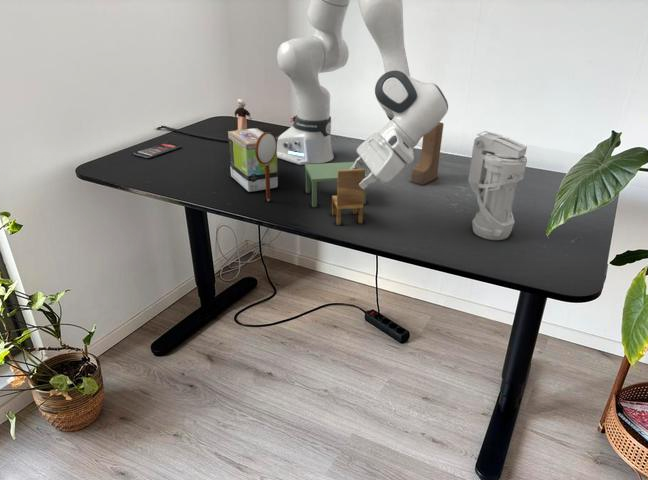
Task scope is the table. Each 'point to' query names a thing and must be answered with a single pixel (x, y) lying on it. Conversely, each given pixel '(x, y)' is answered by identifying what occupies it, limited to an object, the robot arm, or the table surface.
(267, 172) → the magnifying glass
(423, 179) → the wooden block
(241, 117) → the grandmother figurine
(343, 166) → the side table
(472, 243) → the table surface
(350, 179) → the chair
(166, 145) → the smartphone
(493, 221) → the grey mechanical canister
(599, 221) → the table surface
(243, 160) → the tea box
